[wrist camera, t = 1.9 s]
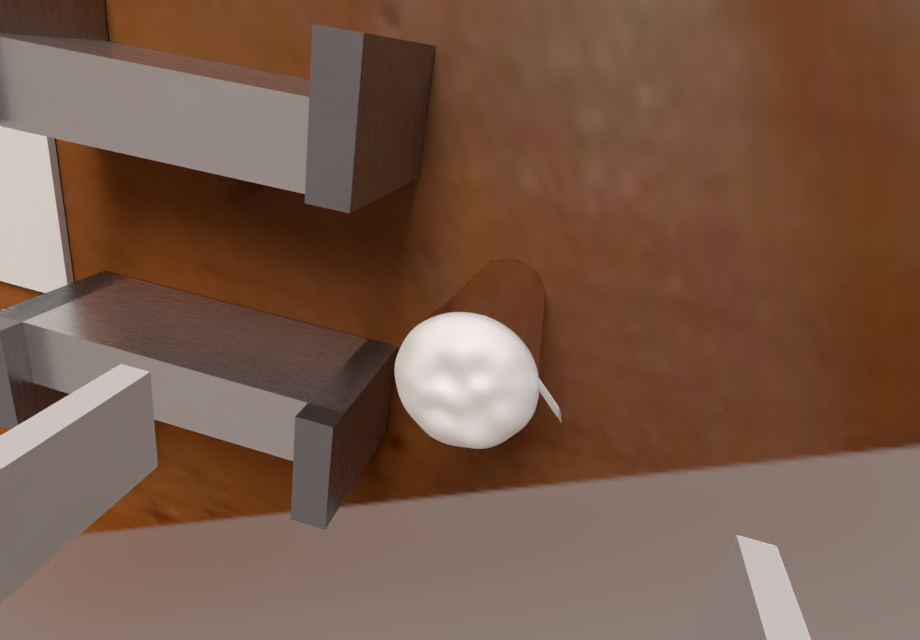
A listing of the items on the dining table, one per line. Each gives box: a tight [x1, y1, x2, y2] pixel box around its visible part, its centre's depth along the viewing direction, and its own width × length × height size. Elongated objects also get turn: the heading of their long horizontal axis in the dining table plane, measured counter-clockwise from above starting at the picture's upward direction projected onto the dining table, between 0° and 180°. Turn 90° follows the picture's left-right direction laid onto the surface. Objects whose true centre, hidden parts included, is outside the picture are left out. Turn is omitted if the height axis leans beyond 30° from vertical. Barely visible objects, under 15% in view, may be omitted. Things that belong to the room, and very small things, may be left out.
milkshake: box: [394, 259, 562, 449], centre depth 20 cm, size 4×5×10 cm
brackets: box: [0, 0, 435, 529], centre depth 24 cm, size 16×18×7 cm
